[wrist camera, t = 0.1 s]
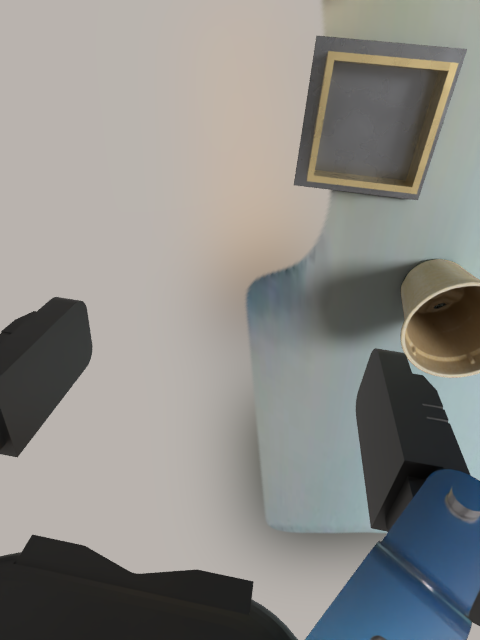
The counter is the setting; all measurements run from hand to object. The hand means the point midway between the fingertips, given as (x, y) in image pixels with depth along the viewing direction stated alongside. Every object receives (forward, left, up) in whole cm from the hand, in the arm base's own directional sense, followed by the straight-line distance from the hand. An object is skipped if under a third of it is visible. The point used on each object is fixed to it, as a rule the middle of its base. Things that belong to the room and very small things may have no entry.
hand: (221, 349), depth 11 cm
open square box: (-4, +7, -29) cm, 30 cm away
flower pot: (+10, +17, -29) cm, 35 cm away
